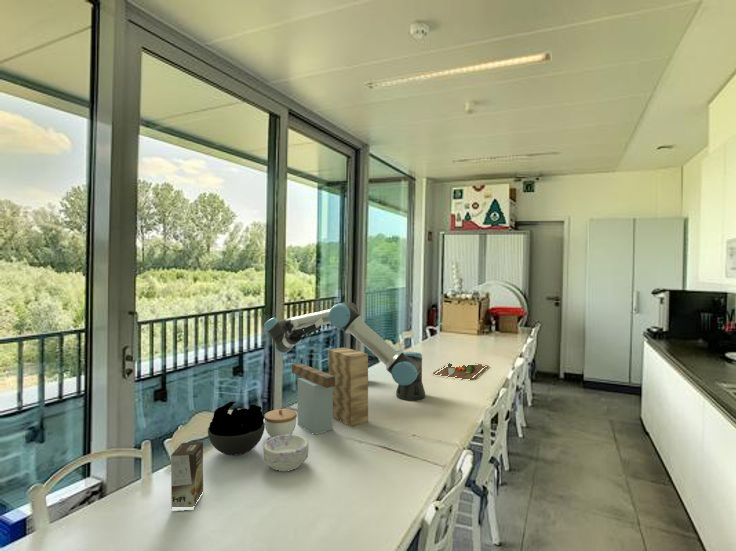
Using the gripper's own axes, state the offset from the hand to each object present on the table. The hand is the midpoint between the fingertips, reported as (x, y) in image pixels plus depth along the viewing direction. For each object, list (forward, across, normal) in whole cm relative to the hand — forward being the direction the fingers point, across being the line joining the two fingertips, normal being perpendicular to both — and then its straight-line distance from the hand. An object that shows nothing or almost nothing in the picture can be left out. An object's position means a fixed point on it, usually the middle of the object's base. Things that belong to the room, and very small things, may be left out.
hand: (309, 321), depth 209 cm
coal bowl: (+4, +46, -51) cm, 69 cm away
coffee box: (+24, +70, -62) cm, 97 cm away
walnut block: (+8, +11, -30) cm, 32 cm away
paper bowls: (+21, +36, -60) cm, 73 cm away
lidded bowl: (0, +27, -48) cm, 55 cm away
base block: (0, +11, -48) cm, 49 cm away
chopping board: (-24, -113, -35) cm, 121 cm away
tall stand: (0, -6, -48) cm, 48 cm away
